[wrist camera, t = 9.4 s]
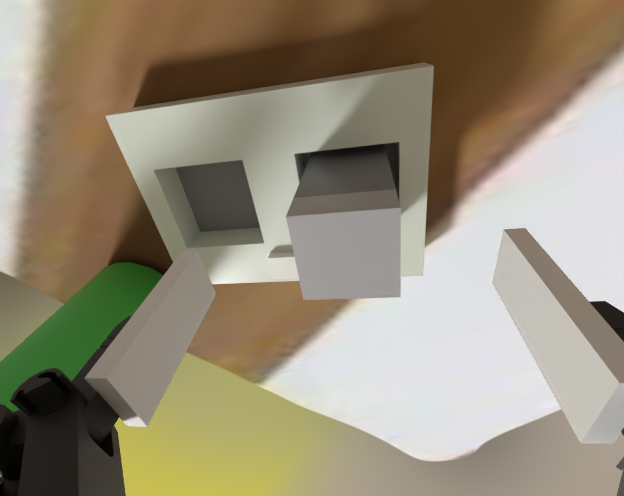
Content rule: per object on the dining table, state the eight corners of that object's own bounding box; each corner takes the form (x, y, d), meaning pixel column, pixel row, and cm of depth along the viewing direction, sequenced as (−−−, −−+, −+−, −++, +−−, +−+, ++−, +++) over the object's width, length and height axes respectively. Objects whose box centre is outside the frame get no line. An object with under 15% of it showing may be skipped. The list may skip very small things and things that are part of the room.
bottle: (87, 263, 32) (-417, 682, 11) (159, 249, 30) (-295, 735, 9) (135, 325, 36) (-161, 706, 16) (201, 316, 34) (-39, 744, 13)
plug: (312, 151, 23) (285, 216, 14) (384, 143, 22) (400, 207, 13) (321, 214, 25) (303, 299, 17) (385, 209, 24) (400, 297, 16)
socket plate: (132, 107, 23) (96, 118, 20) (423, 62, 19) (437, 67, 16) (198, 265, 30) (179, 291, 27) (416, 253, 27) (424, 282, 23)
